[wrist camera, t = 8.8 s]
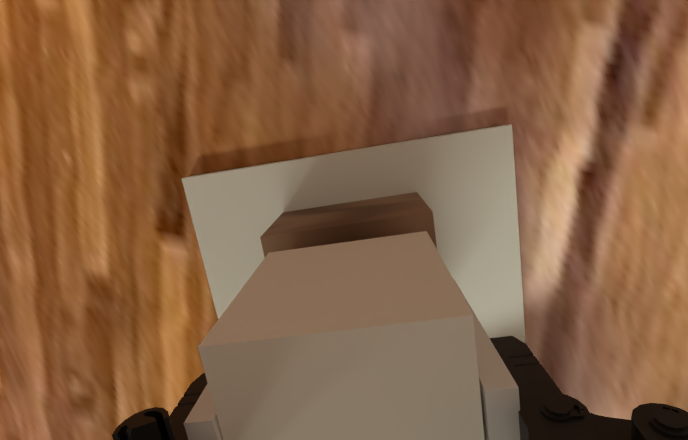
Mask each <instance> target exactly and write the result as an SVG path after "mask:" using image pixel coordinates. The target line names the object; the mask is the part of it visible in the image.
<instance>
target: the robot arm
mask: <svg viewBox="0 0 688 440" xmlns="http://www.w3.org/2000/svg"><path fill="white" fill-rule="evenodd" d="M454 281H455V279H454ZM455 283H456V281H455ZM456 285H457V287H458V288H459V286H458V284H457V283H456ZM459 290H460V288H459ZM460 292H461V294H462V296H463V297H464V299H465V301H466V303H467V305H468V306H469V308H470V310H471V312H472V314H473V318H474V329H475V340H476V351H477V362H478V373H479V384H480V395H481V406H482V417H483V428H484V439H485V440H688V412H686V411H684V410H682V409H680V408H677V407H673V406H669V405H666V404H656V403H649V404H643V405H639V406H638V407H636V408H635V409H634V410H633V412H632V417H631V420H625V419H618V418H610V417H604V416H599V415H595V414H592V413H589V411H588V409H587V408H586V407H585V406H584V405H583V404H582V403H581V402H579V401H578V400H576V399H574V398H572V397H570V396H568V395H564V394H562V392H561V391H560V390H559V388H558V387H557V386H556V384H555V383H554V382H553V380H552V379H551V377H550V376H549V375H548V373H547V372H546V371H545V369H544V368H543V367H542V365H540V364H539V361H538V360H537V359H536V357H535V356H533V353H532V352H531V351H530V349H529V348H528V347H527V345H526V344H525V343H523V342H522V341H520V340H519V339H517V338H515V337H514V336H505V337H497V338H489V337H488V335H487V333H486V332H485V330H484V328H483V327H482V325H481V323H480V322H479V320H478V318H477V317H476V315H475V313H474V311H473V310H472V308H471V306H470V305H469V303H468V301H467V300H466V298H465V296H464V295H463V293H462V291H461V290H460ZM112 436H113V439H114V440H223V437H222V433H221V429H220V426H219V422H218V419H217V415H216V411H215V408H214V404H213V401H212V397H211V393H210V390H209V386H208V383H207V379H206V375H205V373H203V374H202V375H201V376H200V377H199V378H197V379H196V380H195V381H194V382H193V383H191V385H190V386H189V388H188V389H187V391H186V392H185V394H184V397H182V398H181V400H180V401H179V403H178V406H176V407H175V409H174V410H173V412H172V413H171V415H170V416H169V414H168V411H166V410H165V409H164V408H157V407H155V408H150V409H145V410H143V411H141V412H138V413H136V414H134V415H132V416H131V417H129V418H128V419H126V420H125V421H124V422H123V423H121V424H120V425H119V426H118V427H117V428H116V430H115V431H114V433H113V435H112Z"/></svg>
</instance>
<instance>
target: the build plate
mask: <svg viewBox="0 0 688 440" xmlns="http://www.w3.org/2000/svg"><path fill="white" fill-rule="evenodd" d="M182 182H183V186H184V190H185V194H186V198H187V202H188V205H189V209H190V213H191V217H192V221H193V225H194V228H195V232H196V236H197V240H198V244H199V248H200V252H201V255H202V259H203V263H204V267H205V271H206V275H207V278H208V282H209V286H210V290H211V294H212V298H213V301H214V305H215V309H216V313H217V317H218V319H219V318H220V317H221V315H222V314H223V313H224V311H225V310H226V309H227V307H228V306H229V305H230V303H231V302H232V301H233V299H234V298H235V297H236V295H237V294H238V293H239V291H240V290H241V289H242V287H243V286H244V285H245V284H246V282H247V281H248V280H249V278H250V277H251V276H252V274H253V273H254V272H255V270H256V269H257V268H258V266H259V265H260V264H261V262H262V261H263V260H264V258H265V257H264V253H263V248H262V244H261V239H260V237H261V236H262V235H263V233H264V232H265V231H266V230H267V229H268V228H269V227H270V226H271V225H272V224H273V223H274V222H275V220H276V219H277V218H278V217H279V216H280V215H281V214H282V213H283V212H288V211H295V210H301V209H308V208H314V207H321V206H328V205H334V204H341V203H347V202H354V201H361V200H367V199H374V198H380V197H387V196H394V195H400V194H407V193H413V192H417V193H418V194H419V195H420V197H421V198H422V199H423V200H424V202H425V203H426V204H427V205H428V207H429V208H430V209H431V210H432V212H433V219H434V227H435V236H436V245H437V251H438V252H439V254H440V256H441V258H442V260H443V261H444V263H445V265H446V267H447V269H448V270H449V272H450V274H451V276H452V278H453V279H455V281H456V283H457V284H458V286H459V288H460V290H461V291H462V293H463V295H464V296H465V298H466V300H467V301H468V303H469V305H470V306H471V308H472V310H473V311H474V313H475V315H476V317H477V318H478V320H479V322H480V323H481V325H482V327H483V328H484V330H485V332H486V333H487V335H488V337H489V338H497V337H505V336H514V337H515V338H517V339H519V340H520V341H522V342H523V343H525V344H526V339H525V323H524V307H523V291H522V275H521V259H520V243H519V227H518V211H517V195H516V179H515V163H514V147H513V131H512V125H500V126H494V127H488V128H482V129H476V130H469V131H463V132H457V133H451V134H445V135H439V136H433V137H427V138H420V139H414V140H408V141H402V142H396V143H390V144H384V145H378V146H371V147H365V148H359V149H353V150H347V151H341V152H335V153H329V154H322V155H316V156H310V157H304V158H298V159H292V160H286V161H280V162H273V163H267V164H261V165H255V166H249V167H243V168H237V169H231V170H224V171H218V172H212V173H206V174H200V175H194V176H188V177H185V178H182Z"/></svg>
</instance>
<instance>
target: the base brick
mask: <svg viewBox="0 0 688 440" xmlns="http://www.w3.org/2000/svg"><path fill="white" fill-rule="evenodd" d="M423 231H427V233H428V234H429V236H430V238H431V240H432V242H433V243H434V245H435V247H436V249H437V245H436V236H435V227H434V219H433V212H432V210H431V209H430V208H429V207H428V205H427V204H426V203H425V202H424V200H423V199H422V198H421V197H420V195H419V194H418V193H417V192H413V193H407V194H400V195H394V196H387V197H380V198H374V199H367V200H361V201H354V202H347V203H341V204H334V205H328V206H321V207H314V208H308V209H301V210H295V211H288V212H283V213H282V214H281V215H280V216H279V217H278V218H277V219H276V220H275V222H274V223H273V224H272V225H271V226H270V227H269V228H268V229H267V230H266V231H265V232H264V233H263V235H262V236H261V237H260V239H261V244H262V248H263V253H264V257H266V256H267V254H268V253H270V252H277V251H284V250H291V249H299V248H306V247H313V246H321V245H328V244H335V243H343V242H350V241H357V240H364V239H372V238H379V237H386V236H394V235H401V234H408V233H415V232H423Z"/></svg>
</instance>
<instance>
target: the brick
mask: <svg viewBox="0 0 688 440" xmlns="http://www.w3.org/2000/svg"><path fill="white" fill-rule="evenodd" d="M198 350H199V354H200V357H201V361H202V365H203V368H204V372H205V375H206V379H207V383H208V386H209V390H210V393H211V397H212V401H213V404H214V408H215V411H216V415H217V419H218V422H219V426H220V429H221V433H222V437H223V440H485V439H484V428H483V417H482V406H481V395H480V384H479V373H478V362H477V351H476V340H475V329H474V318H473V314H472V312H471V310H470V308H469V306H468V305H467V303H466V301H465V299H464V297H463V296H462V294H461V292H460V290H459V288H458V287H457V285H456V283H455V281H454V279H453V278H452V276H451V274H450V272H449V270H448V269H447V267H446V265H445V263H444V261H443V260H442V258H441V256H440V254H439V252H438V251H437V249H436V247H435V245H434V243H433V242H432V240H431V238H430V236H429V234H428V233H427V231H423V232H415V233H408V234H401V235H394V236H386V237H379V238H372V239H364V240H357V241H350V242H343V243H335V244H328V245H321V246H313V247H306V248H299V249H291V250H284V251H277V252H270V253H268V254H267V256H266V257H265V258H264V260H263V261H262V262H261V264H260V265H259V266H258V268H257V269H256V270H255V272H254V273H253V274H252V276H251V277H250V278H249V280H248V281H247V282H246V284H245V285H244V286H243V287H242V289H241V290H240V291H239V293H238V294H237V295H236V297H235V298H234V299H233V301H232V302H231V303H230V305H229V306H228V307H227V309H226V310H225V311H224V313H223V314H222V315H221V317H220V318H219V319H218V321H217V322H216V323H215V325H214V326H213V327H212V329H211V330H210V331H209V333H208V334H207V335H206V337H205V338H204V339H203V341H202V342H201V343H200V345H199V346H198Z"/></svg>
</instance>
